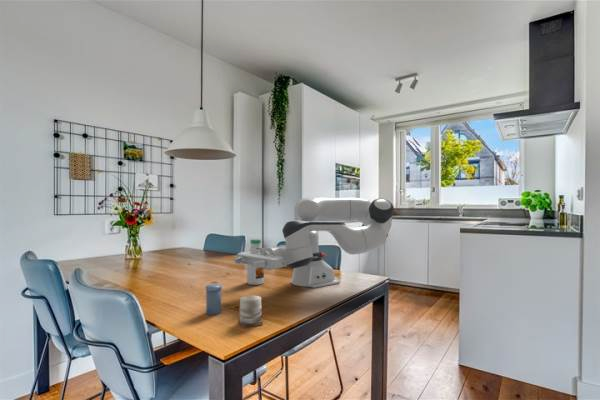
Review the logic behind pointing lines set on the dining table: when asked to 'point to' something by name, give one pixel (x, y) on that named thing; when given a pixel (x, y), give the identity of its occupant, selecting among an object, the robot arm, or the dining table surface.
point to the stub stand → (250, 311)
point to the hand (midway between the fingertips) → (243, 263)
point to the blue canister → (213, 299)
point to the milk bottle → (255, 268)
